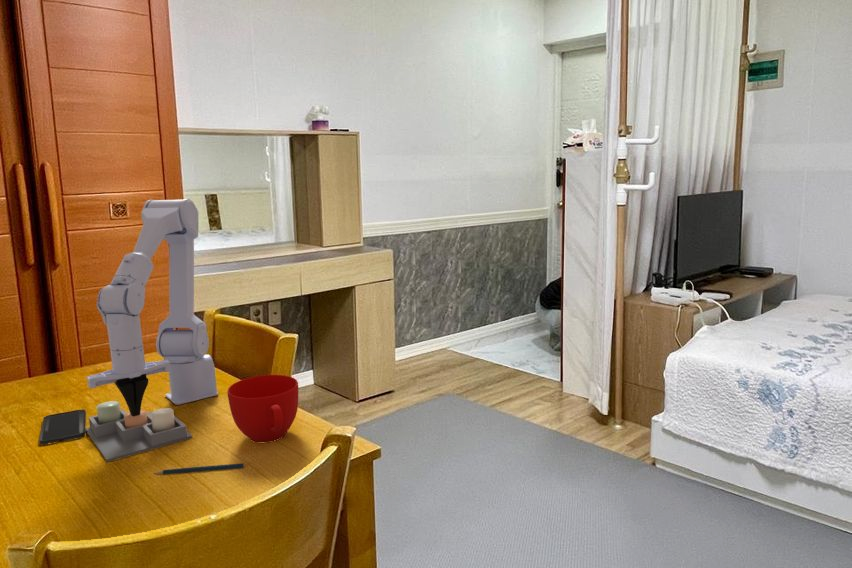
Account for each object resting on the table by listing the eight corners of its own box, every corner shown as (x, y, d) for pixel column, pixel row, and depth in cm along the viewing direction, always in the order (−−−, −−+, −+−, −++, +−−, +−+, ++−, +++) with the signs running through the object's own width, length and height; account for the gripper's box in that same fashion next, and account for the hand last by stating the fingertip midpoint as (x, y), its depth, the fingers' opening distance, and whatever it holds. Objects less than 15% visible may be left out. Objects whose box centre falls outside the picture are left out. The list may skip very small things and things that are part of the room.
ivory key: (171, 422, 128) (169, 406, 127) (178, 428, 125) (176, 412, 124) (150, 428, 125) (148, 411, 125) (156, 434, 122) (154, 418, 122)
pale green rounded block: (118, 415, 133) (116, 399, 132) (123, 420, 129) (121, 405, 129) (96, 420, 130) (94, 404, 130) (101, 426, 127) (99, 410, 126)
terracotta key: (145, 424, 130) (143, 408, 130) (150, 430, 127) (148, 414, 127) (123, 429, 128) (121, 413, 127) (129, 436, 125) (127, 419, 124)
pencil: (243, 469, 112) (152, 477, 111) (244, 467, 113) (154, 474, 112) (243, 465, 112) (152, 472, 111) (243, 462, 113) (153, 469, 111)
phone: (85, 408, 141) (84, 433, 127) (86, 413, 141) (85, 438, 127) (43, 416, 137) (37, 442, 124) (44, 421, 137) (38, 447, 124)
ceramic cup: (245, 465, 113) (240, 410, 111) (226, 431, 128) (221, 382, 126) (317, 448, 119) (313, 395, 117) (291, 417, 134) (287, 370, 132)
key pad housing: (163, 410, 139) (161, 399, 139) (192, 438, 125) (190, 425, 125) (85, 430, 130) (83, 418, 130) (107, 462, 116) (105, 448, 116)
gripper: (89, 359, 117) (99, 431, 120) (172, 343, 126) (179, 410, 128) (81, 351, 122) (90, 419, 125) (161, 336, 131) (168, 400, 134)
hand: (135, 414), depth 127 cm, fingers closed, pressing on terracotta key
